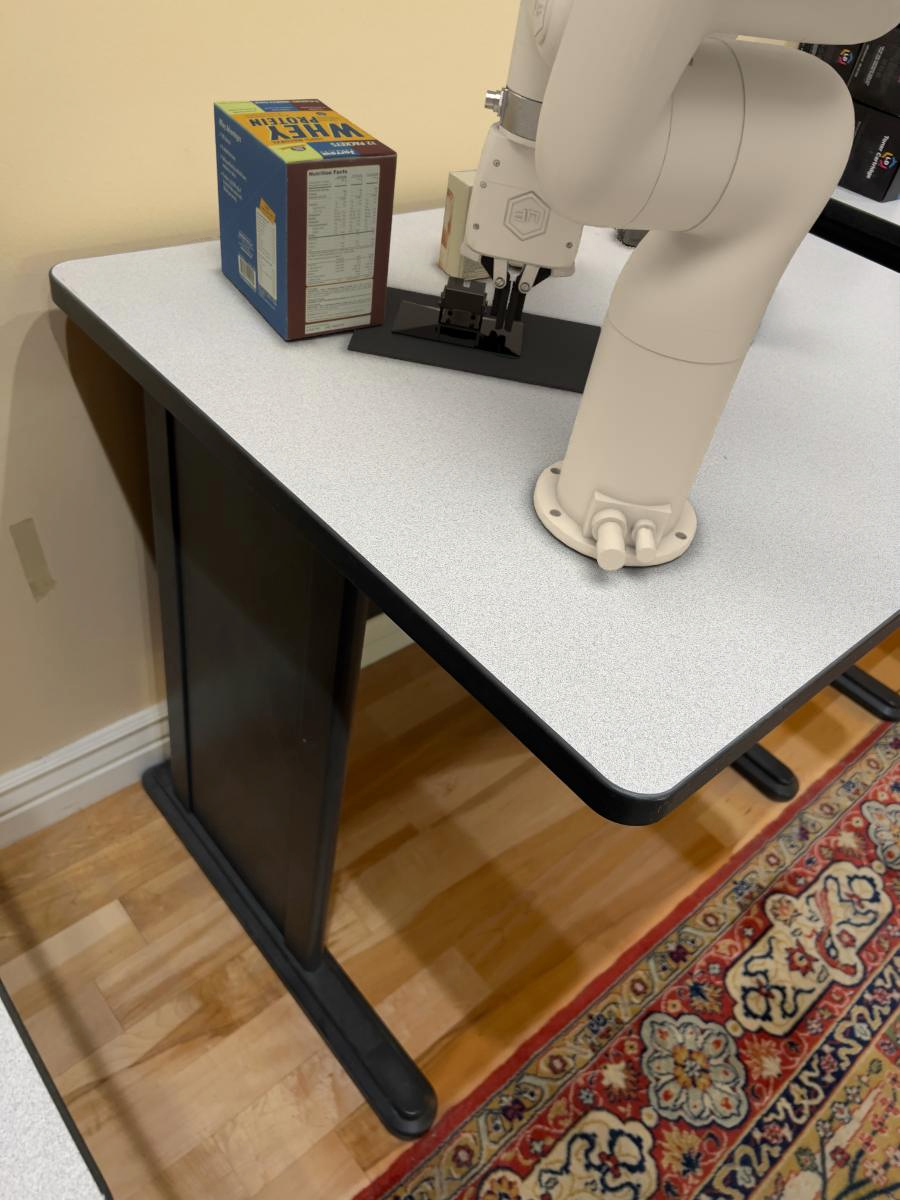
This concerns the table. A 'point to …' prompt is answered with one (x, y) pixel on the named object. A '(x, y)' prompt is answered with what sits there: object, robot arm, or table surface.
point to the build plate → (459, 321)
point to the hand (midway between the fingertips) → (503, 324)
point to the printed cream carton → (458, 227)
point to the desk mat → (546, 353)
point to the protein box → (304, 214)
